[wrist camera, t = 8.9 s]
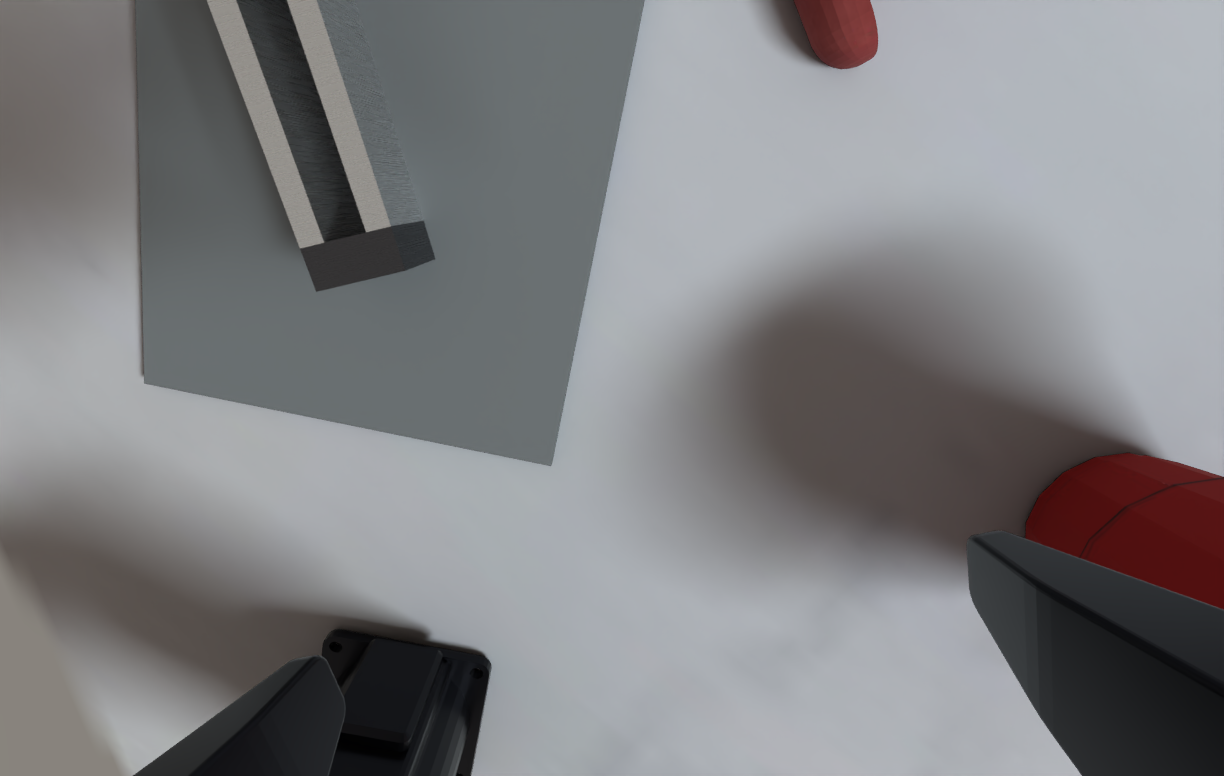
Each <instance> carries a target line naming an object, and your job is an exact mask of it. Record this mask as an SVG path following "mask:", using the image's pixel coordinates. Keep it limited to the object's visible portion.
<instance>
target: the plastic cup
mask: <svg viewBox="0 0 1224 776" xmlns="http://www.w3.org/2000/svg"><path fill="white" fill-rule="evenodd" d="M1025 539H1028V540H1031V541H1033V542H1036V543H1039V544H1042V545H1044V546H1047V547H1050V548H1053V549H1056V550H1058V551H1061V552H1064V553H1067V554H1070V555H1072V556H1075V557H1078V558H1081V559H1084V560H1086V561H1089V562H1092V563H1095V564H1098V565H1100V566H1103V567H1106V568H1109V569H1112V570H1114V571H1117V572H1120V573H1123V574H1126V575H1128V576H1131V577H1134V578H1137V579H1140V580H1142V581H1145V582H1148V583H1151V584H1153V585H1156V586H1159V587H1162V588H1165V589H1167V590H1170V591H1173V592H1176V593H1179V594H1181V595H1184V596H1187V597H1190V598H1193V599H1195V600H1198V601H1201V602H1204V603H1207V604H1209V605H1212V606H1215V607H1218V608H1221V609H1223V610H1224V477H1222V476H1219V475H1216V474H1212V473H1209V472H1206V471H1203V470H1200V469H1197V468H1194V467H1190V466H1187V465H1184V464H1181V463H1178V462H1173V461H1169V460H1164V459H1160V458H1156V457H1151V456H1147V455H1143V456H1140V455H1136V454H1132V453H1123V454H1116V455H1108V456H1101V457H1094V458H1092V459H1090V460H1088V461H1086V462H1084V463H1082V464H1080V465H1078V466H1076V467H1074V468H1072V469H1070V470H1068V471H1066V472H1064V473H1062V474H1061V475H1060V476H1059V477H1058V478H1057V479H1056V480H1055V481H1054V482H1053V483H1052V484H1051V485H1050V486H1049V487H1048V488H1047V489H1046V490H1045V491H1044V492H1043V493H1042V494H1040V495H1039V497H1038V499H1037V501H1036V503H1035V505H1034V507H1033V509H1032V511H1031V513H1030V515H1029V517H1028V519H1027V521H1026V535H1025Z"/></svg>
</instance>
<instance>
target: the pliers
mask: <svg viewBox="0 0 1224 776" xmlns="http://www.w3.org/2000/svg"><path fill="white" fill-rule="evenodd" d="M794 3H795V5H796V8H797V10H798V13H799V16H800V18H801V21H802V23H803V26H804V28H805V31H806V34H807V36H808V39H809V42H810V44H811V47H812V49H813V50H814V52H815V53H816V55H817V56H818V57H819V58H820V59H821V60H822V61H823V62H824V63H826V64H827V65H829V66H831V67H833V68H838V69H849V68H853V67H857V66H859V65H861V64H863V63H865V62H867V61H868V60H870V59H871V58H873V57H874V56H875V54H876V52H877V48H878V33H877V26H876V20H875V16H874V12H873V8H872V5H871V2H870V0H794Z"/></svg>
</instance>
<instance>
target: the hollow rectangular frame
mask: <svg viewBox="0 0 1224 776" xmlns="http://www.w3.org/2000/svg"><path fill="white" fill-rule="evenodd" d="M287 2H288V5H289V8H290V11H291V14H292V17H293V20H294V22H295V25H296V28H297V31H298V34H299V37H300V40H301V43H302V46H303V49H304V52H305V55H306V58H307V61H308V63H309V66H310V69H311V72H312V75H313V78H314V81H315V84H316V87H317V90H318V93H319V96H320V99H321V102H322V105H323V107H324V110H325V113H326V116H327V119H328V122H329V125H330V128H331V131H332V134H333V137H334V140H335V143H336V146H337V148H338V151H339V154H340V157H341V160H342V163H343V166H344V169H345V172H346V175H347V178H348V181H349V184H350V187H351V189H352V192H353V195H354V198H355V201H356V204H357V207H358V210H359V213H360V216H361V219H362V222H363V225H364V228H365V230H366V233H365V231H364V228H363V225H362V222H361V219H360V217H359V214H358V211H357V208H356V205H355V202H354V199H353V196H352V193H351V190H350V187H349V184H348V181H347V179H346V176H345V173H344V170H343V167H342V164H341V161H340V158H339V155H338V152H337V149H336V146H335V143H334V140H333V138H332V135H331V132H330V129H329V126H328V123H327V120H326V117H325V114H324V111H323V108H322V105H321V102H320V100H319V97H318V94H317V91H316V88H315V85H314V82H313V79H312V76H311V73H310V70H309V67H308V64H307V62H306V59H305V56H304V53H303V50H302V47H301V44H300V41H299V38H298V35H297V32H296V29H295V26H294V24H293V21H292V18H291V15H290V12H289V9H288V6H287V3H286V0H207V3H208V5H209V8H210V11H211V13H212V16H213V19H214V21H215V24H216V26H217V29H218V32H219V34H220V37H221V40H222V42H223V45H224V48H225V50H226V53H227V56H228V58H229V61H230V64H231V66H232V69H233V72H234V74H235V77H236V80H237V82H238V85H239V88H240V90H241V93H242V96H243V98H244V101H245V104H246V106H247V109H248V112H249V114H250V117H251V120H252V122H253V125H254V128H255V130H256V133H257V136H258V138H259V141H260V144H261V146H262V149H263V152H264V154H265V157H266V160H267V162H268V165H269V168H270V170H271V173H272V176H273V178H274V181H275V184H276V186H277V189H278V192H279V194H280V197H281V200H282V202H283V205H284V208H285V210H286V213H287V216H288V218H289V221H290V223H291V226H292V229H293V231H294V234H295V237H296V239H297V242H298V245H299V247H300V250H301V253H302V255H303V258H304V261H305V263H306V266H307V269H308V271H309V274H310V277H311V279H312V282H313V285H314V287H315V290H316V292H318V291H323V290H327V289H331V288H335V287H339V286H344V285H348V284H352V283H356V282H360V281H365V280H369V279H373V278H377V277H381V276H386V275H390V274H394V273H398V272H402V271H406V270H409V269H411V268H414V267H417V266H419V265H422V264H424V263H427V262H429V261H432V260H435V255H434V252H433V249H432V246H431V243H430V239H429V236H428V233H427V230H426V227H425V223H424V220H423V217H422V214H421V211H420V207H419V204H418V201H417V198H416V195H415V191H414V188H413V185H412V182H411V179H410V175H409V172H408V169H407V166H406V163H405V159H404V156H403V153H402V150H401V147H400V143H399V140H398V137H397V134H396V131H395V127H394V124H393V121H392V118H391V115H390V111H389V108H388V105H387V102H386V99H385V95H384V92H383V89H382V86H381V83H380V79H379V76H378V73H377V70H376V67H375V63H374V60H373V57H372V54H371V51H370V47H369V44H368V41H367V38H366V35H365V31H364V28H363V25H362V22H361V19H360V15H359V12H358V9H357V6H356V3H355V0H287Z"/></svg>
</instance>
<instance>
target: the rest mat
mask: <svg viewBox="0 0 1224 776" xmlns="http://www.w3.org/2000/svg"><path fill="white" fill-rule="evenodd" d="M644 1H645V0H355V3H356V6H357V9H358V12H359V15H360V19H361V22H362V25H363V28H364V31H365V35H366V38H367V41H368V44H369V47H370V51H371V54H372V57H373V60H374V63H375V67H376V70H377V73H378V76H379V79H380V83H381V86H382V89H383V92H384V95H385V99H386V102H387V105H388V108H389V111H390V115H391V118H392V121H393V124H394V127H395V131H396V134H397V137H398V140H399V143H400V147H401V150H402V153H403V156H404V159H405V163H406V166H407V169H408V172H409V175H410V179H411V182H412V185H413V188H414V191H415V195H416V198H417V201H418V204H419V207H420V211H421V214H422V217H423V220H424V223H425V227H426V230H427V233H428V236H429V239H430V243H431V246H432V249H433V252H434V255H435V260H432V261H429V262H427V263H424V264H422V265H419V266H417V267H414V268H411V269H409V270H406V271H402V272H398V273H394V274H390V275H386V276H381V277H377V278H373V279H369V280H365V281H360V282H356V283H352V284H348V285H344V286H339V287H335V288H331V289H327V290H323V291H318V292H316V290H315V287H314V285H313V282H312V279H311V277H310V274H309V271H308V269H307V266H306V263H305V261H304V258H303V255H302V253H301V250H300V247H299V245H298V242H297V239H296V237H295V234H294V231H293V229H292V226H291V223H290V221H289V218H288V216H287V213H286V210H285V208H284V205H283V202H282V200H281V197H280V194H279V192H278V189H277V186H276V184H275V181H274V178H273V176H272V173H271V170H270V168H269V165H268V162H267V160H266V157H265V154H264V152H263V149H262V146H261V144H260V141H259V138H258V136H257V133H256V130H255V128H254V125H253V122H252V120H251V117H250V114H249V112H248V109H247V106H246V104H245V101H244V98H243V96H242V93H241V90H240V88H239V85H238V82H237V80H236V77H235V74H234V72H233V69H232V66H231V64H230V61H229V58H228V56H227V53H226V50H225V48H224V45H223V42H222V40H221V37H220V34H219V32H218V29H217V26H216V24H215V21H214V19H213V16H212V13H211V11H210V8H209V5H208V3H207V0H135V15H136V57H137V99H138V141H139V183H140V225H141V267H142V309H143V351H144V384H149V385H154V386H159V387H164V388H169V389H174V390H179V391H184V392H189V393H194V394H199V395H204V396H208V397H213V398H218V399H223V400H228V401H233V402H238V403H243V404H248V405H253V406H258V407H263V408H268V409H273V410H277V411H282V412H287V413H292V414H297V415H302V416H307V417H312V418H317V419H322V420H327V421H332V422H337V423H341V424H346V425H351V426H356V427H361V428H366V429H371V430H376V431H381V432H386V433H391V434H396V435H401V436H406V437H410V438H415V439H420V440H425V441H430V442H435V443H440V444H445V445H450V446H455V447H460V448H465V449H470V450H474V451H479V452H484V453H489V454H494V455H499V456H504V457H509V458H514V459H519V460H524V461H529V462H534V463H539V464H543V465H548V466H551V465H552V461H553V456H554V451H555V446H556V441H557V436H558V431H559V426H560V421H561V416H562V411H563V406H564V401H565V396H566V391H567V386H568V381H569V376H570V371H571V366H572V361H573V356H574V351H575V346H576V341H577V336H578V331H579V326H580V321H581V316H582V311H583V306H584V301H585V296H586V291H587V286H588V281H589V276H590V271H591V266H592V261H593V256H594V251H595V246H596V241H597V236H598V231H599V226H600V221H601V216H602V211H603V206H604V201H605V196H606V191H607V186H608V181H609V176H610V171H611V166H612V161H613V156H614V151H615V146H616V141H617V136H618V131H619V126H620V121H621V116H622V111H623V106H624V101H625V96H626V91H627V86H628V81H629V76H630V71H631V66H632V61H633V56H634V51H635V46H636V41H637V36H638V31H639V26H640V21H641V16H642V11H643V6H644ZM286 3H287V6H288V9H289V12H290V15H291V18H292V21H293V24H294V26H295V29H296V32H297V35H298V38H299V41H300V44H301V47H302V50H303V53H304V56H305V59H306V62H307V64H308V67H309V70H310V73H311V76H312V79H313V82H314V85H315V88H316V91H317V94H318V97H319V100H320V102H321V99H320V96H319V93H318V90H317V87H316V84H315V81H314V78H313V75H312V72H311V69H310V66H309V63H308V61H307V58H306V55H305V52H304V49H303V46H302V43H301V40H300V37H299V34H298V31H297V28H296V25H295V22H294V20H293V17H292V14H291V11H290V8H289V5H288V2H287V0H286ZM321 105H322V102H321ZM322 108H323V111H324V114H325V117H326V120H327V123H328V126H329V129H330V132H331V135H332V138H333V140H334V137H333V134H332V131H331V128H330V125H329V122H328V119H327V116H326V113H325V110H324V107H323V105H322ZM334 143H335V140H334ZM335 146H336V143H335ZM336 149H337V152H338V155H339V158H340V161H341V164H342V167H343V170H344V173H345V176H346V179H347V181H348V178H347V175H346V172H345V169H344V166H343V163H342V160H341V157H340V154H339V151H338V148H337V146H336ZM348 184H349V181H348ZM349 187H350V184H349ZM350 190H351V193H352V196H353V199H354V202H355V205H356V208H357V211H358V214H359V217H360V219H361V216H360V213H359V210H358V207H357V204H356V201H355V198H354V195H353V192H352V189H351V187H350ZM361 222H362V219H361ZM362 225H363V222H362ZM363 228H364V225H363ZM364 231H365V233H366V230H365V228H364Z"/></svg>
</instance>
